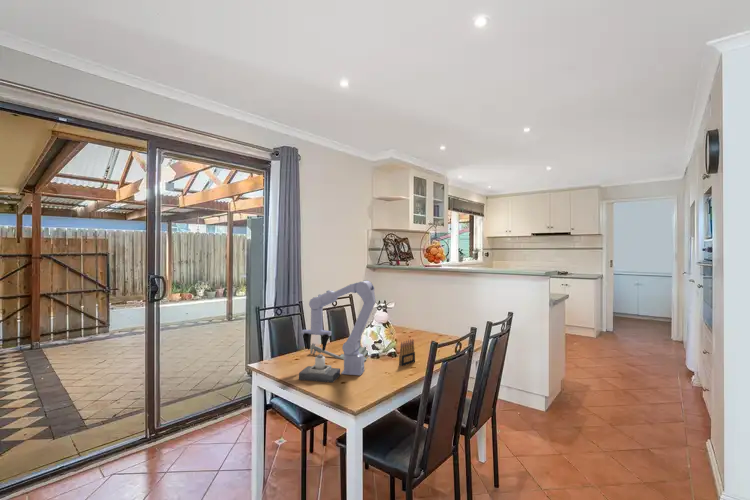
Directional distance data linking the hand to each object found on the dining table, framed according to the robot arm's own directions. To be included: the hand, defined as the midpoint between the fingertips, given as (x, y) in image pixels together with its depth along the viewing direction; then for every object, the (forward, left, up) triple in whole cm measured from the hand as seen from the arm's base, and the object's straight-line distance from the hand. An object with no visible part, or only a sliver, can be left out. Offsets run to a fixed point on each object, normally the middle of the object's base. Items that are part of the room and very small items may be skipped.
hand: (316, 349), depth 174 cm
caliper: (+3, -22, -10) cm, 25 cm away
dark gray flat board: (-6, +10, -10) cm, 15 cm away
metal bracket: (-14, -25, -10) cm, 30 cm away
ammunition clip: (-42, -20, -10) cm, 47 cm away
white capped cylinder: (-6, +10, -7) cm, 13 cm away
